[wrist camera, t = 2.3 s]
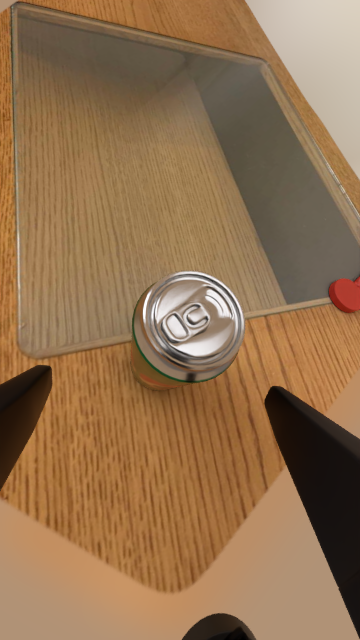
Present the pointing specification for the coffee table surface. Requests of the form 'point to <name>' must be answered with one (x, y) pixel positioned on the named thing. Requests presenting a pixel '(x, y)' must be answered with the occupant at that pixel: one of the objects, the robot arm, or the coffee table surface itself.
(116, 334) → the coffee table surface
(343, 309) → the spoon
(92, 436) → the coffee table surface
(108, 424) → the coffee table surface
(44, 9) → the coffee table surface
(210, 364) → the soda can
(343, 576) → the robot arm
